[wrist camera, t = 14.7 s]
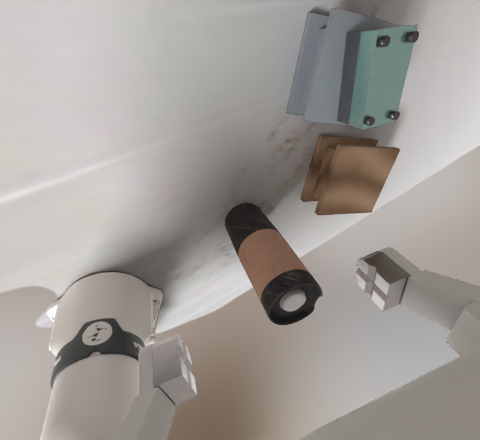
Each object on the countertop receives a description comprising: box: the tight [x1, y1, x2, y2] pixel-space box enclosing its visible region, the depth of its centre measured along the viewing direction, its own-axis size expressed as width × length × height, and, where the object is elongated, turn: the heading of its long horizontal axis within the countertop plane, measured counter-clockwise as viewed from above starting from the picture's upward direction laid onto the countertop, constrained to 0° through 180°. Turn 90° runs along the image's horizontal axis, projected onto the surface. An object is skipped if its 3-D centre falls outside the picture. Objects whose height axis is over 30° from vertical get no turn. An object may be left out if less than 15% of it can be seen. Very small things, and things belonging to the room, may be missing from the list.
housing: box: [337, 25, 419, 130], centre depth 31 cm, size 10×5×6 cm, turn 6°
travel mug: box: [225, 203, 322, 325], centre depth 40 cm, size 8×8×20 cm
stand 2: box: [301, 135, 400, 215], centre depth 46 cm, size 12×12×6 cm
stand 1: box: [287, 8, 400, 128], centre depth 36 cm, size 12×12×6 cm
